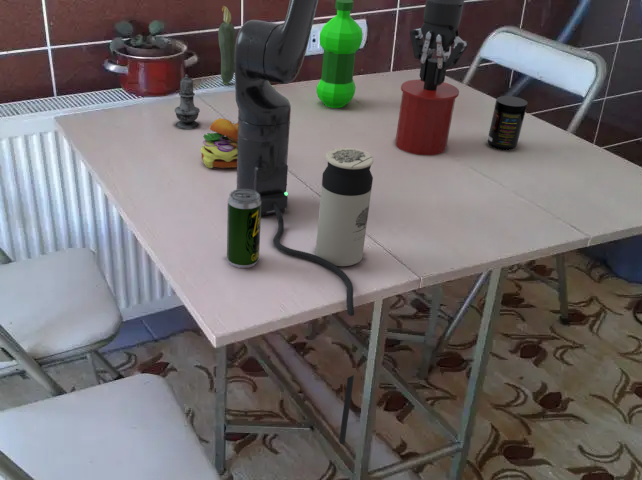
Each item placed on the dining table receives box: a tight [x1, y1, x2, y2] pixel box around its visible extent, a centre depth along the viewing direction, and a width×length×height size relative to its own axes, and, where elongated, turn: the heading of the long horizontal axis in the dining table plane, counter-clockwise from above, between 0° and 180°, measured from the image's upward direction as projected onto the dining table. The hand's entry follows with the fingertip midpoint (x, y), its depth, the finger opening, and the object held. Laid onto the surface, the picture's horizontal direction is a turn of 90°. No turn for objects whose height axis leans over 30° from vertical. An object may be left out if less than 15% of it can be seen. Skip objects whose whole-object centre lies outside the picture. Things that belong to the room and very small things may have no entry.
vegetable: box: [217, 5, 236, 85], centre depth 193 cm, size 4×4×20 cm
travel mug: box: [315, 147, 375, 267], centre depth 122 cm, size 8×8×18 cm
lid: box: [400, 58, 460, 101], centre depth 160 cm, size 12×12×7 cm
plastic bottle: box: [316, 0, 364, 109], centre depth 182 cm, size 10×10×25 cm
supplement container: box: [486, 95, 528, 151], centre depth 167 cm, size 7×7×10 cm
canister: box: [395, 92, 457, 156], centre depth 165 cm, size 11×11×12 cm
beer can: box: [226, 188, 262, 269], centre depth 121 cm, size 5×5×12 cm
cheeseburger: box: [200, 117, 238, 169], centre depth 156 cm, size 10×11×10 cm
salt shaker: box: [174, 73, 201, 130], centre depth 171 cm, size 6×6×12 cm
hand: (431, 82), depth 161 cm, fingers closed on lid, 3 cm apart
